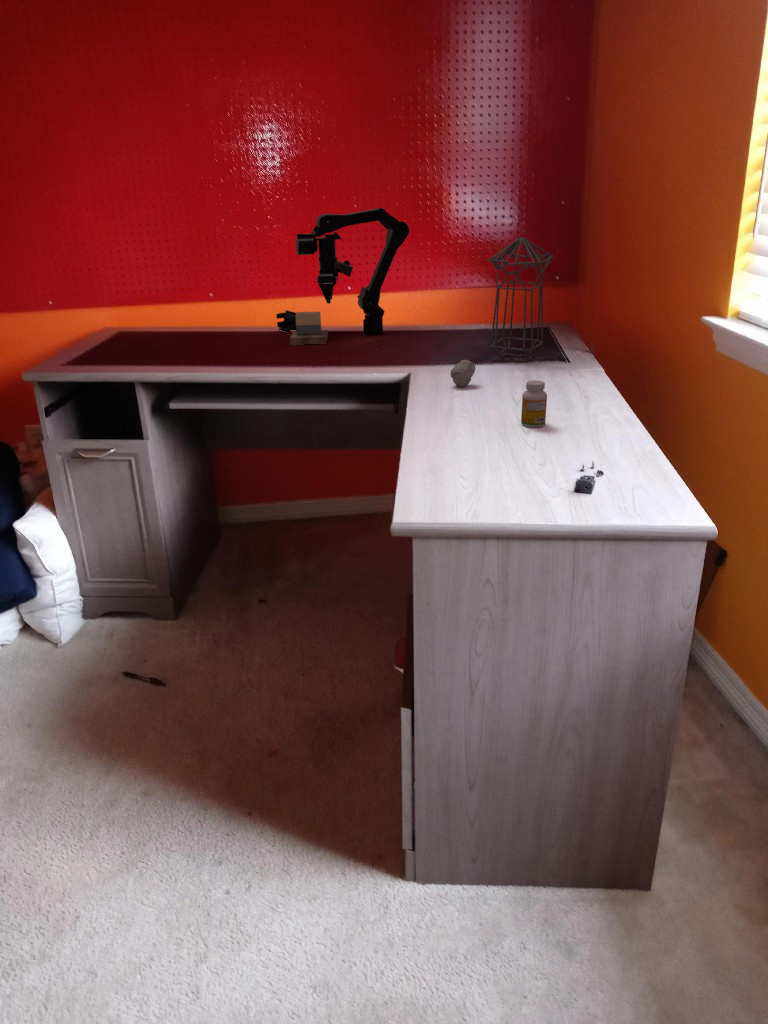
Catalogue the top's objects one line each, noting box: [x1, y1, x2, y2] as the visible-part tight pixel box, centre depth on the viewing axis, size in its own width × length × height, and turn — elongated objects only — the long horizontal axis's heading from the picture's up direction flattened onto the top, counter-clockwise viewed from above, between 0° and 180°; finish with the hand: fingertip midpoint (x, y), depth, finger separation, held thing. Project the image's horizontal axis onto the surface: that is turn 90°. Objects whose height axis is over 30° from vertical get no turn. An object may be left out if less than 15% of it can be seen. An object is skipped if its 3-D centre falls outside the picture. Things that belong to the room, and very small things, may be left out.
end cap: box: [276, 310, 297, 332], centre depth 285 cm, size 10×7×7 cm
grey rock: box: [450, 359, 476, 388], centre depth 208 cm, size 6×7×7 cm
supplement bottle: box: [520, 379, 548, 429], centre depth 175 cm, size 5×5×10 cm
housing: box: [295, 311, 322, 336], centre depth 266 cm, size 5×8×7 cm, turn 90°
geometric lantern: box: [487, 237, 554, 363], centre depth 230 cm, size 16×16×35 cm
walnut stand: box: [289, 329, 329, 346], centre depth 268 cm, size 12×12×2 cm
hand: (329, 301), depth 271 cm, fingers open, 9 cm apart
